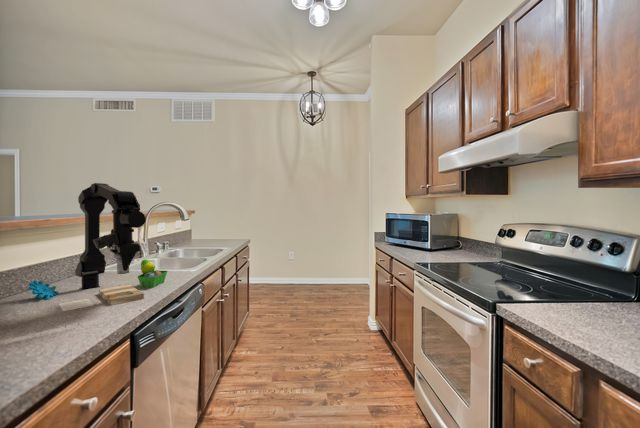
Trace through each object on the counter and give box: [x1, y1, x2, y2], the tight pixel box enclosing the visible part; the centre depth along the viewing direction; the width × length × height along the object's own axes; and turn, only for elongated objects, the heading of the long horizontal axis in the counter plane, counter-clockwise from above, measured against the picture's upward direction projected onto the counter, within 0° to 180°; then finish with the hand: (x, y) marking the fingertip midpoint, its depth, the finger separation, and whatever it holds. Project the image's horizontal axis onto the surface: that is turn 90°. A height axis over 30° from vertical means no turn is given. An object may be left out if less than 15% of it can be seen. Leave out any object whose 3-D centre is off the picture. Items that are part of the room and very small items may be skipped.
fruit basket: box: [136, 259, 168, 288], centre depth 132 cm, size 11×9×11 cm
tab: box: [58, 298, 94, 312], centre depth 102 cm, size 10×8×1 cm
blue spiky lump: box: [28, 279, 59, 301], centre depth 109 cm, size 11×6×10 cm
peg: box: [113, 253, 130, 275], centre depth 108 cm, size 5×5×7 cm
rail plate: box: [98, 284, 145, 306], centre depth 112 cm, size 18×10×3 cm, turn 47°
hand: (123, 269), depth 108 cm, fingers closed on peg, 4 cm apart
